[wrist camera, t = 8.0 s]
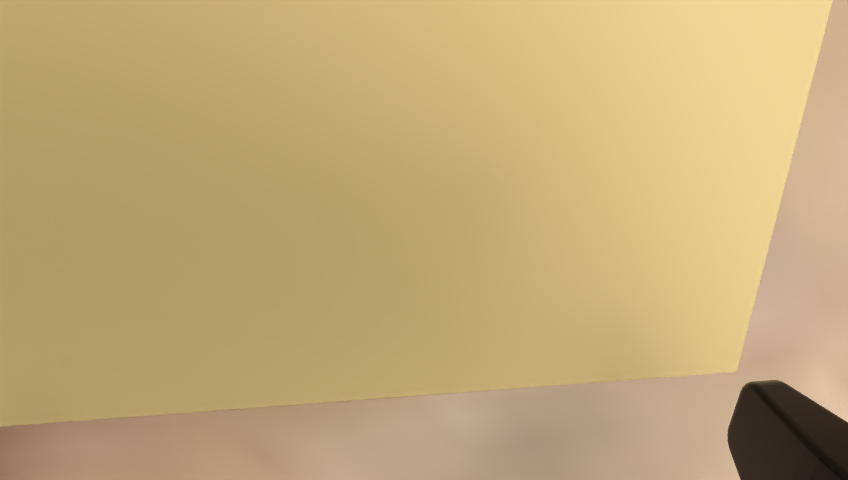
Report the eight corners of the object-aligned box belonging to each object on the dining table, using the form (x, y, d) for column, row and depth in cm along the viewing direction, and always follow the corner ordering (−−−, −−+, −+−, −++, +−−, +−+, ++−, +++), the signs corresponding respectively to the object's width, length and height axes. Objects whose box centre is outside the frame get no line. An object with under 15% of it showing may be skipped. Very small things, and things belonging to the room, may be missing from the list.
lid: (720, 351, 15) (736, 371, 14) (-79, 408, 13) (-94, 434, 12) (835, -121, 11) (862, -118, 10) (-274, -139, 9) (-310, -138, 8)
